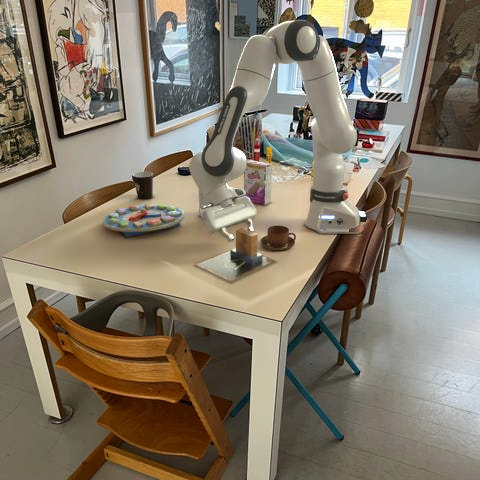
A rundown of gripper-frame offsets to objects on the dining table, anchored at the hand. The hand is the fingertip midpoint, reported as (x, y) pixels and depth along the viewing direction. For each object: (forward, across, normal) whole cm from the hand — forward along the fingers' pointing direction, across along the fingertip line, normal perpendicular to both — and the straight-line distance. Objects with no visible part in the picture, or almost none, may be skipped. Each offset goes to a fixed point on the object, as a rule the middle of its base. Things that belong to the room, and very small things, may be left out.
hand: (241, 236), depth 155 cm
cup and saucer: (+7, +15, +4) cm, 17 cm away
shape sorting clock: (-28, -5, +39) cm, 48 cm away
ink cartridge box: (-20, +20, +31) cm, 42 cm away
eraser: (+6, 0, +3) cm, 7 cm away
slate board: (+7, -5, +4) cm, 9 cm away
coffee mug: (-48, +14, +58) cm, 77 cm away
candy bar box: (-19, +44, +30) cm, 57 cm away
